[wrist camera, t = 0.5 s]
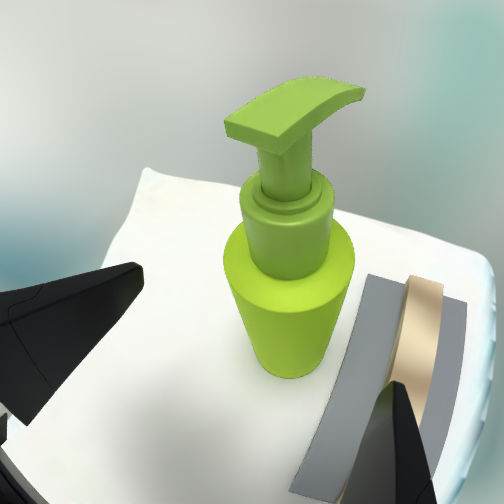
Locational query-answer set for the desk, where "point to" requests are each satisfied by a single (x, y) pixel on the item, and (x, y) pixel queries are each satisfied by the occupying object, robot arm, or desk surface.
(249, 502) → the desk surface
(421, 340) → the ridge
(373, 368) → the base board
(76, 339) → the robot arm
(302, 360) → the soap dispenser
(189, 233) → the desk surface
